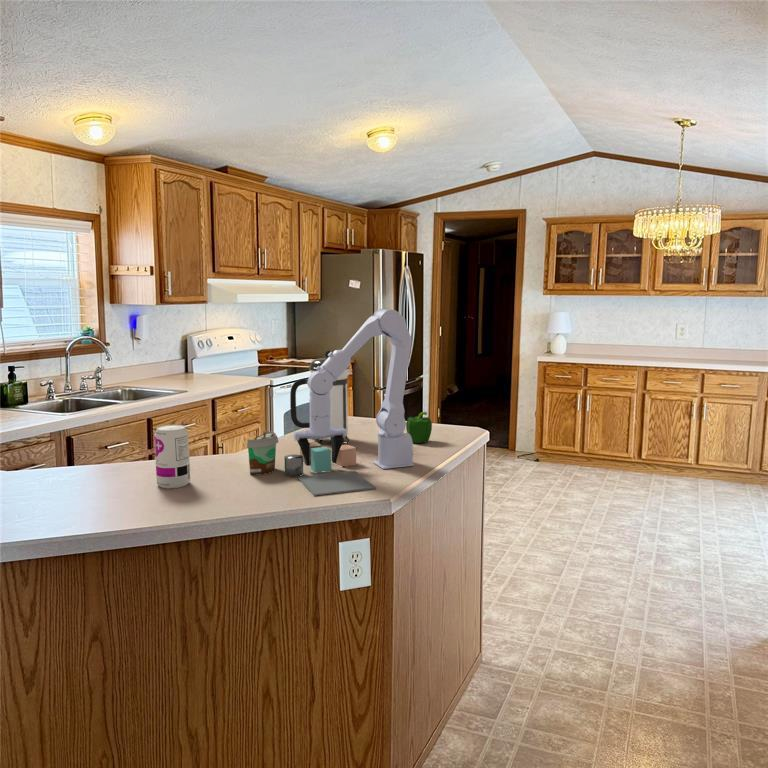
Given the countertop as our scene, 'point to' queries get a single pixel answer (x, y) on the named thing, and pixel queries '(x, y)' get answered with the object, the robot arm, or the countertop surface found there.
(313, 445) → the walnut block
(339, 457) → the terracotta block
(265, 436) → the food container
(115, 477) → the countertop surface
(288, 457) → the metal canister
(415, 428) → the bell pepper
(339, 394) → the coffee press
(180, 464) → the supplement can
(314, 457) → the teal block
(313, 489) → the mat
